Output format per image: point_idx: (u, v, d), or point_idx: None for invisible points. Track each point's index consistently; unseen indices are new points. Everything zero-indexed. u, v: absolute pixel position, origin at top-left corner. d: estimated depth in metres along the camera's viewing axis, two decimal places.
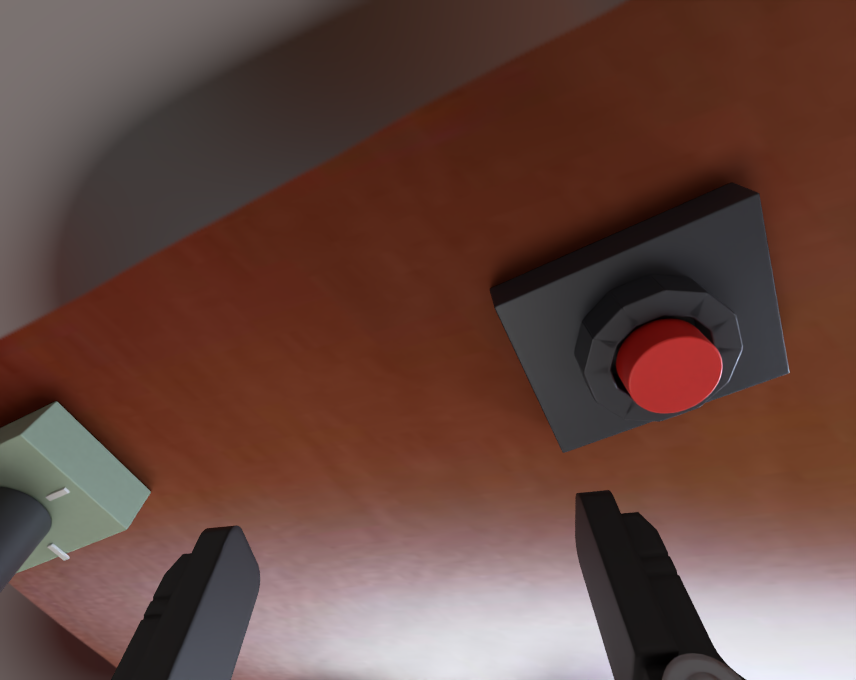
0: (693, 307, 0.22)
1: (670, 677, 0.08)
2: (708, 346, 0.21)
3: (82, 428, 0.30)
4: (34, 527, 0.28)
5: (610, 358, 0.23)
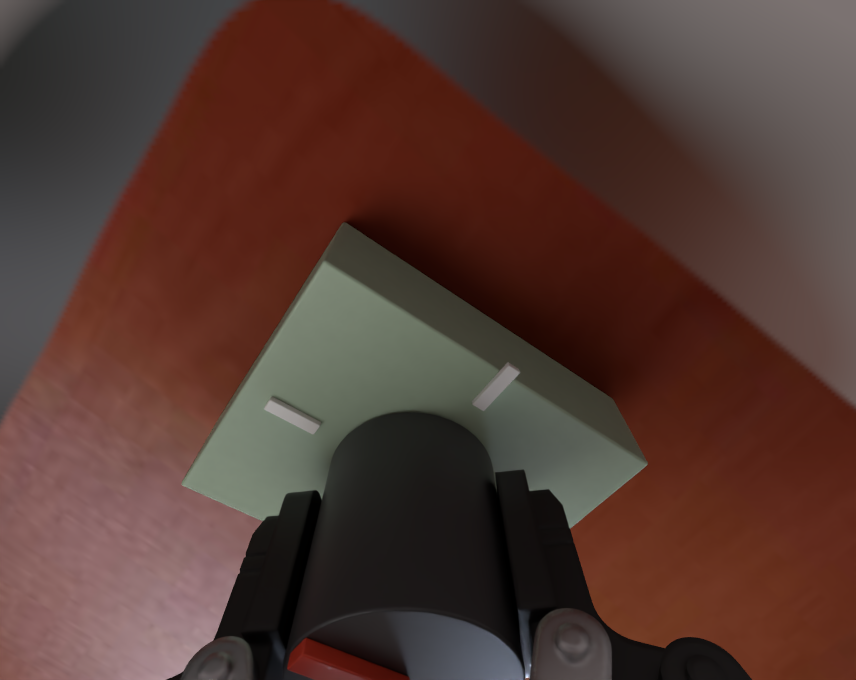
0: None
1: (543, 628, 0.08)
2: None
3: None
4: None
5: None
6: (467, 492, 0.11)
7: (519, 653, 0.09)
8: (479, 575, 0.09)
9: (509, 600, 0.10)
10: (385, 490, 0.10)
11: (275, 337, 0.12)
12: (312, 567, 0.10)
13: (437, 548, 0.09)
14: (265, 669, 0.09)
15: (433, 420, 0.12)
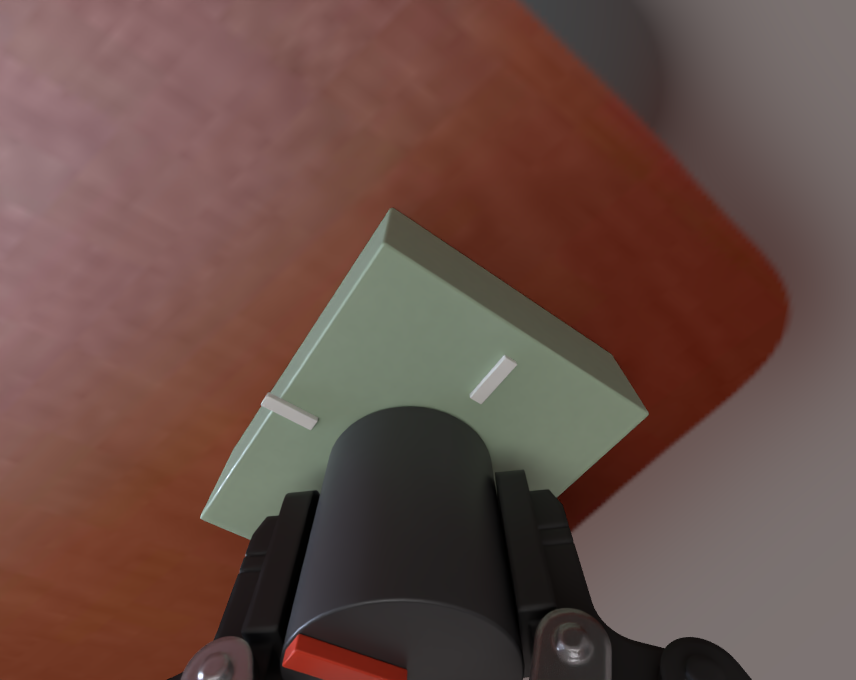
0: None
1: (542, 628, 0.09)
2: None
3: None
4: None
5: None
6: (461, 483, 0.11)
7: (516, 641, 0.09)
8: (472, 564, 0.09)
9: (505, 589, 0.09)
10: (377, 485, 0.10)
11: (582, 371, 0.12)
12: (307, 564, 0.10)
13: (429, 539, 0.09)
14: (265, 669, 0.09)
15: (426, 413, 0.12)
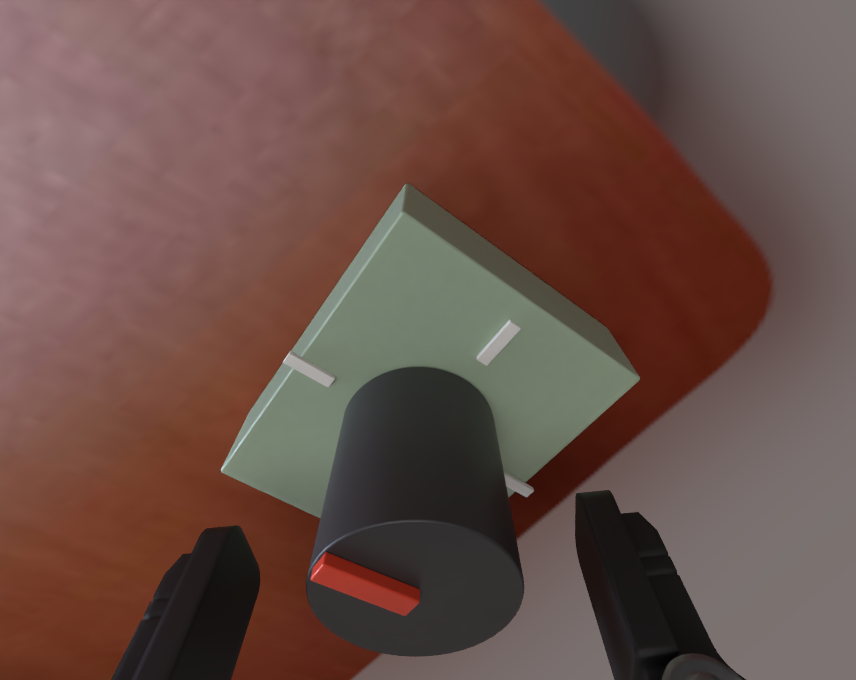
0: None
1: (670, 677, 0.08)
2: None
3: None
4: None
5: None
6: (468, 432, 0.12)
7: (517, 564, 0.10)
8: (479, 497, 0.10)
9: (508, 521, 0.11)
10: (393, 431, 0.11)
11: (580, 336, 0.13)
12: (329, 499, 0.11)
13: (441, 474, 0.10)
14: None
15: (436, 373, 0.13)
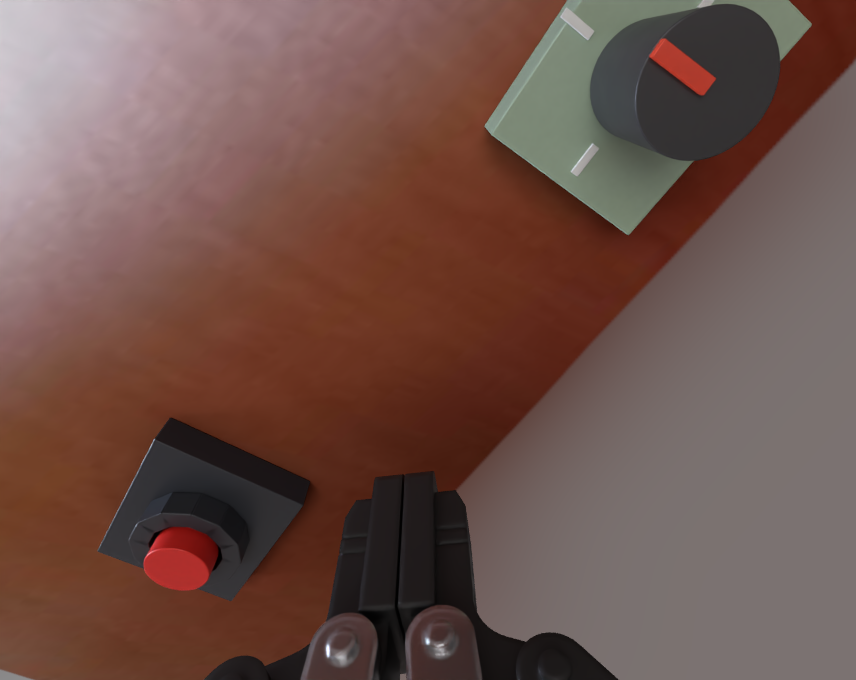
0: None
1: (415, 623, 0.09)
2: (181, 589, 0.32)
3: None
4: None
5: (214, 540, 0.32)
6: None
7: (778, 51, 0.15)
8: None
9: None
10: (669, 14, 0.17)
11: None
12: (635, 48, 0.17)
13: None
14: (386, 646, 0.09)
15: None
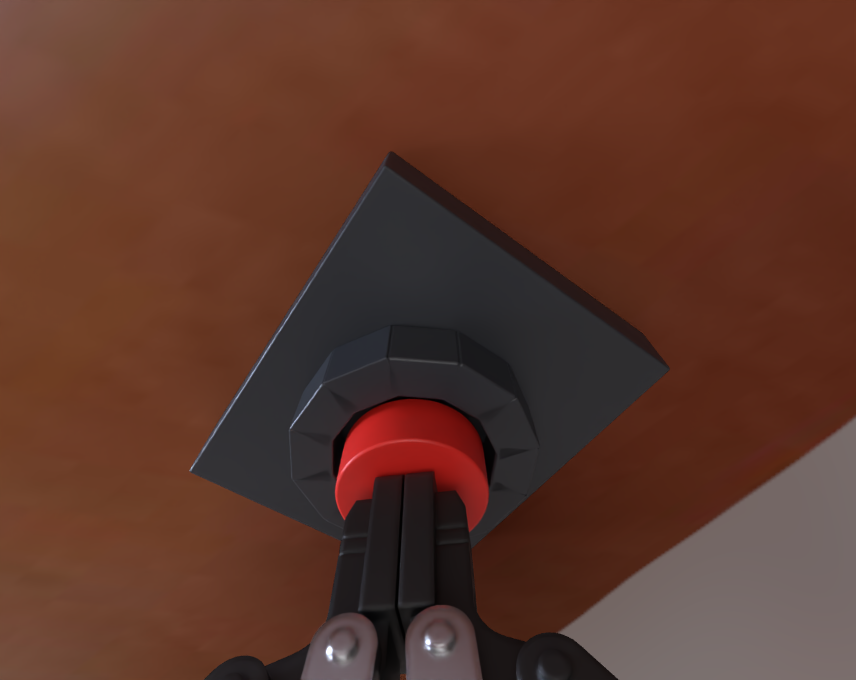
0: None
1: (415, 624, 0.09)
2: None
3: None
4: None
5: (492, 435, 0.14)
6: None
7: None
8: None
9: None
10: None
11: None
12: None
13: None
14: (386, 646, 0.09)
15: None
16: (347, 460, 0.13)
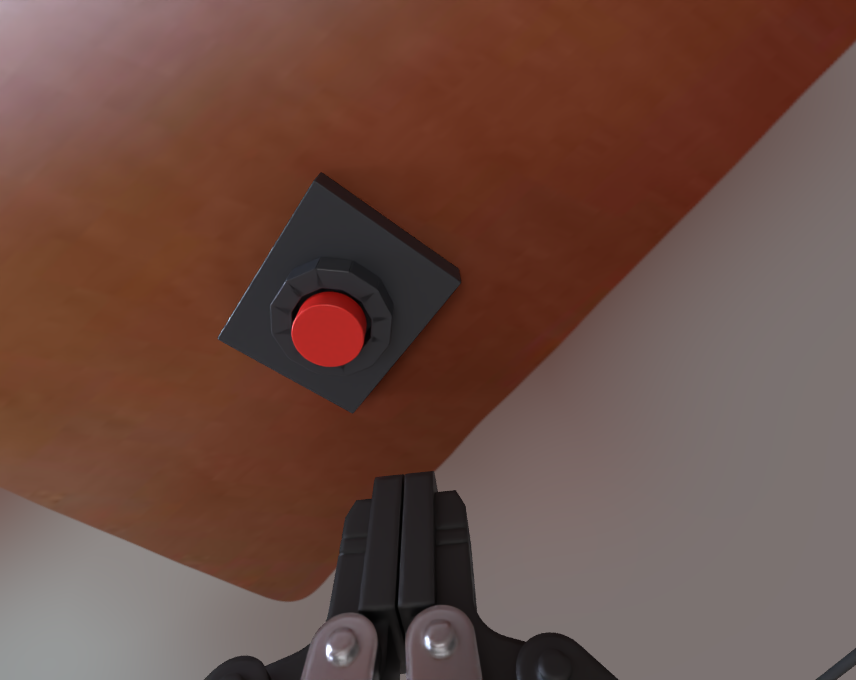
0: (345, 365, 0.30)
1: (415, 623, 0.09)
2: (327, 365, 0.29)
3: None
4: None
5: (368, 309, 0.29)
6: None
7: None
8: None
9: None
10: None
11: None
12: None
13: None
14: (386, 646, 0.09)
15: None
16: (296, 316, 0.28)
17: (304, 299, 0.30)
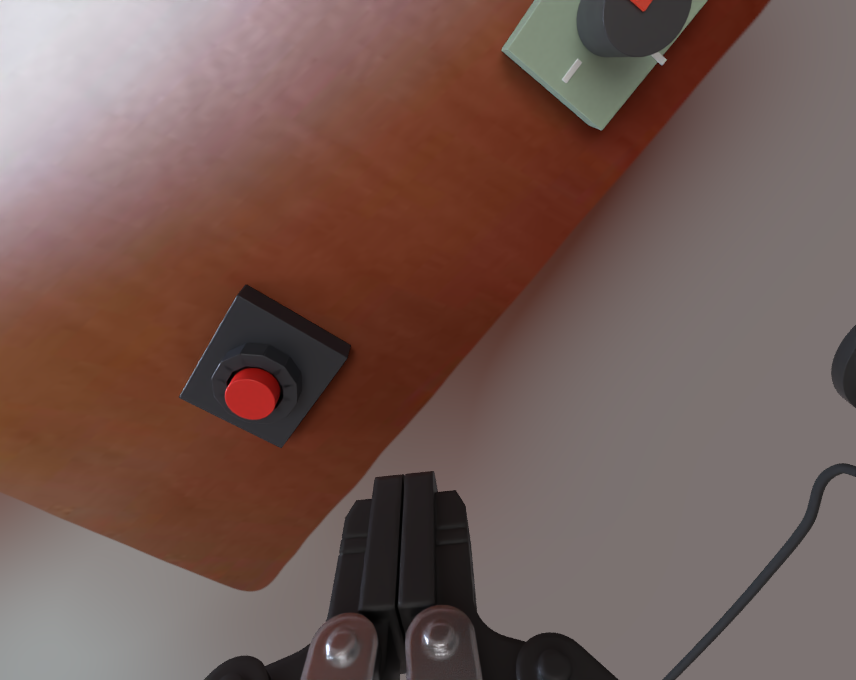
0: (267, 416, 0.43)
1: (415, 623, 0.09)
2: (251, 418, 0.41)
3: (567, 106, 0.35)
4: None
5: (279, 379, 0.41)
6: None
7: None
8: None
9: None
10: None
11: None
12: None
13: None
14: (386, 646, 0.09)
15: None
16: None
17: (238, 370, 0.43)
